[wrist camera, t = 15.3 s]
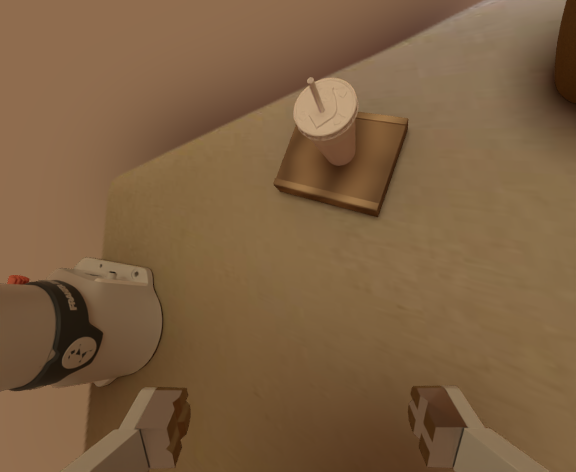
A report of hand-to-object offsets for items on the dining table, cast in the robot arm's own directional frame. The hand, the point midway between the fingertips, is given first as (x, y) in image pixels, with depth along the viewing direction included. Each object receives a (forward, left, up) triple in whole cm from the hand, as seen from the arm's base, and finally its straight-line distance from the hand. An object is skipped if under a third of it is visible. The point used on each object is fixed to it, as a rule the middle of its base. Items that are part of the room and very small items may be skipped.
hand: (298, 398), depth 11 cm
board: (-10, +20, -26) cm, 34 cm away
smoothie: (-9, +20, -24) cm, 32 cm away
